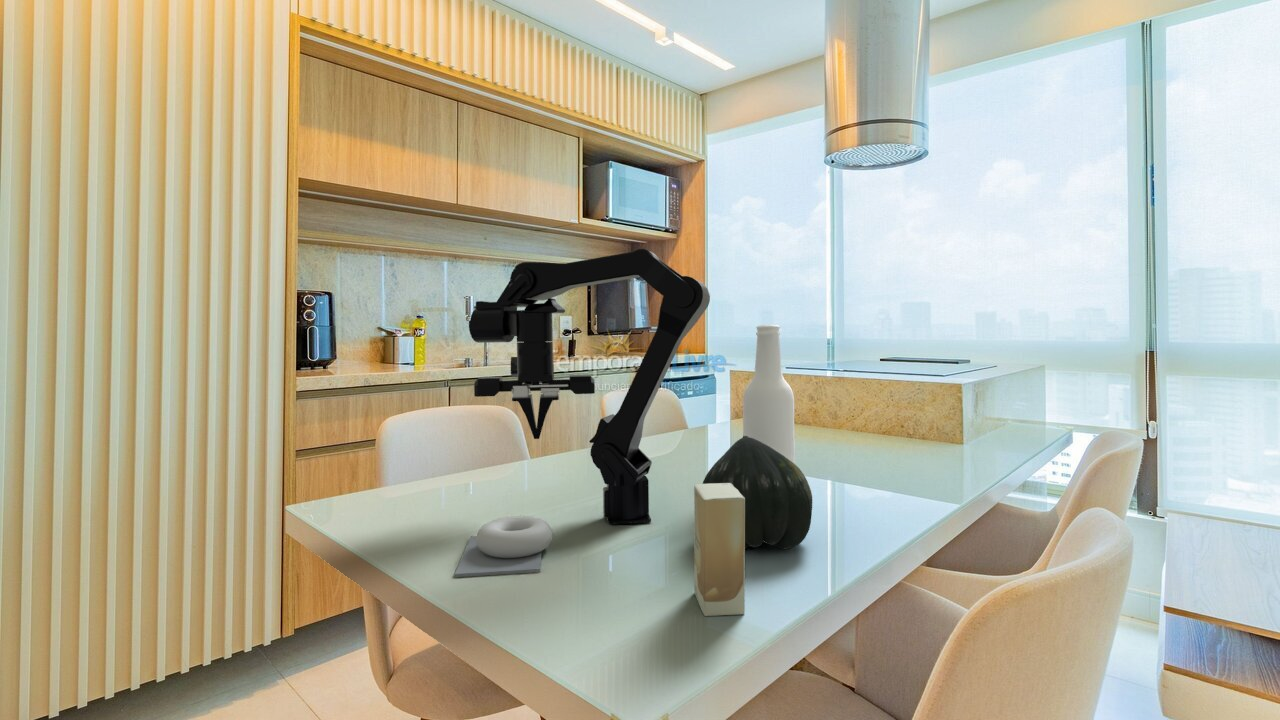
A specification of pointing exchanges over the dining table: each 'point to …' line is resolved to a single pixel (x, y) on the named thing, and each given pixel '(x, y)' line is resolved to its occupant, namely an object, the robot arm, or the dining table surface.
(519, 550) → the donut
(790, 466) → the squash
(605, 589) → the dining table surface
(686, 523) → the dining table surface
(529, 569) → the mat
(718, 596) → the skincare box
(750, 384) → the alcohol
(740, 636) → the dining table surface
